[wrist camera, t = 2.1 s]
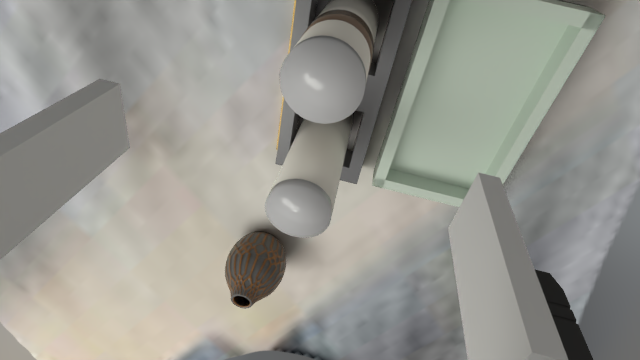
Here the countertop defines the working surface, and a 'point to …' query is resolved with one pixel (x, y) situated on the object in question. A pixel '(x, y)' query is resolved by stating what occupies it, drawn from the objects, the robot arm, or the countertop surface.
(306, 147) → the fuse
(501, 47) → the tray
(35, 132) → the robot arm
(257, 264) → the vase
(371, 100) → the fuse block
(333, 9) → the cylinder
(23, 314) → the countertop surface
